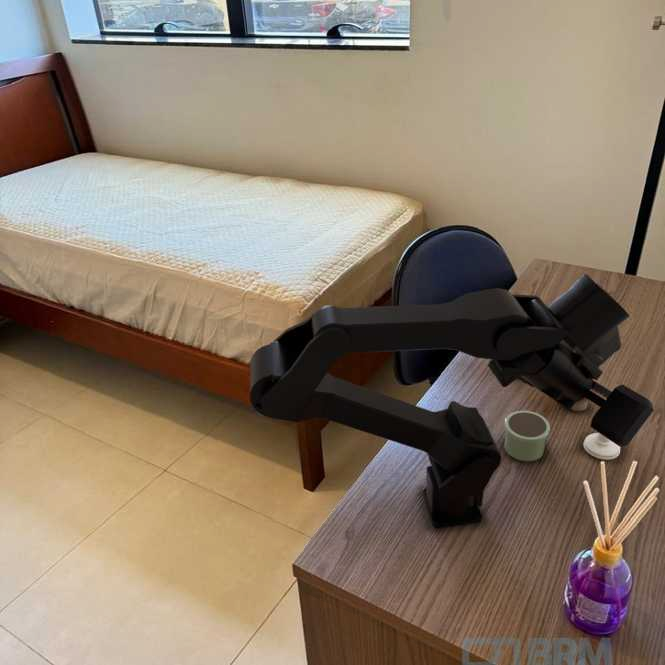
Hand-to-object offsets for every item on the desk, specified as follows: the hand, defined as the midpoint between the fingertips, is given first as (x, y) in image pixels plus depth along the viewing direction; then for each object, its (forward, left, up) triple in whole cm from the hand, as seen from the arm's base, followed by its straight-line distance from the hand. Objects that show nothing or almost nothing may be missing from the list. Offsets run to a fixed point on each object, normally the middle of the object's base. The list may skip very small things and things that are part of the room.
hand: (596, 403), depth 81 cm
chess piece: (+3, +2, -10) cm, 11 cm away
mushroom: (+4, +11, -10) cm, 16 cm away
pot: (-7, +4, -10) cm, 13 cm away
